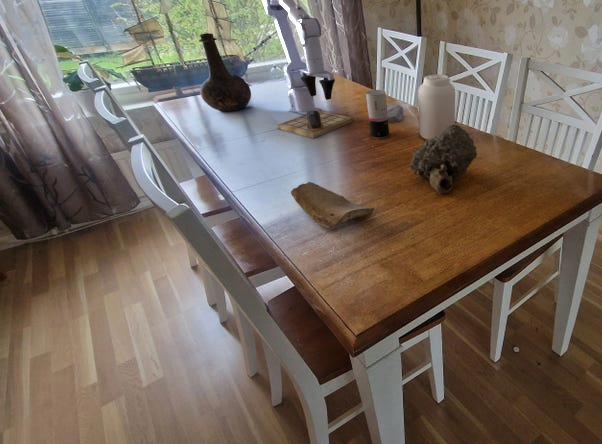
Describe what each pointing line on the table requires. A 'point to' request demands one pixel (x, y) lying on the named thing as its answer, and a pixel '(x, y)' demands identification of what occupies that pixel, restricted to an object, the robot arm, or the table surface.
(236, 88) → the glass bottle
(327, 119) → the board
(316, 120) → the black canister
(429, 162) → the encrusted bottle
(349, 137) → the table surface
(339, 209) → the fossil
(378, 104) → the beverage can
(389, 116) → the stone block
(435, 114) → the white jar
